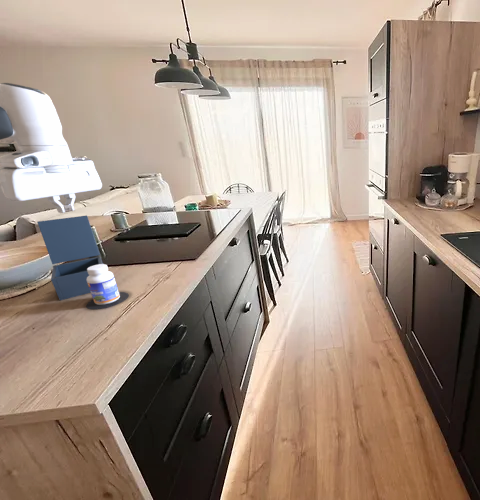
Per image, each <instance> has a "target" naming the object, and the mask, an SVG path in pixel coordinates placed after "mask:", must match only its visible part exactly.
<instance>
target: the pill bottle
mask: <svg viewBox="0 0 480 500" xmlns="http://www.w3.org/2000/svg"><path fill="white" fill-rule="evenodd" d="M87 271H88V274H89V276H88V277H87V283H88V286H89V289H90V291H91V293H90V294H91V297H92V300H94V302H95V304H98V305H104V304H109V303H112V302H114V301H116V300H118V299H119V298H120V294H119V292H120V291H119V288H118V285H117V282H116V279H115V275H114V273H113V272H112V271H109V267H108V264H105V263H103V264H98V265H94V266H91V267H89V268H87Z"/></svg>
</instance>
